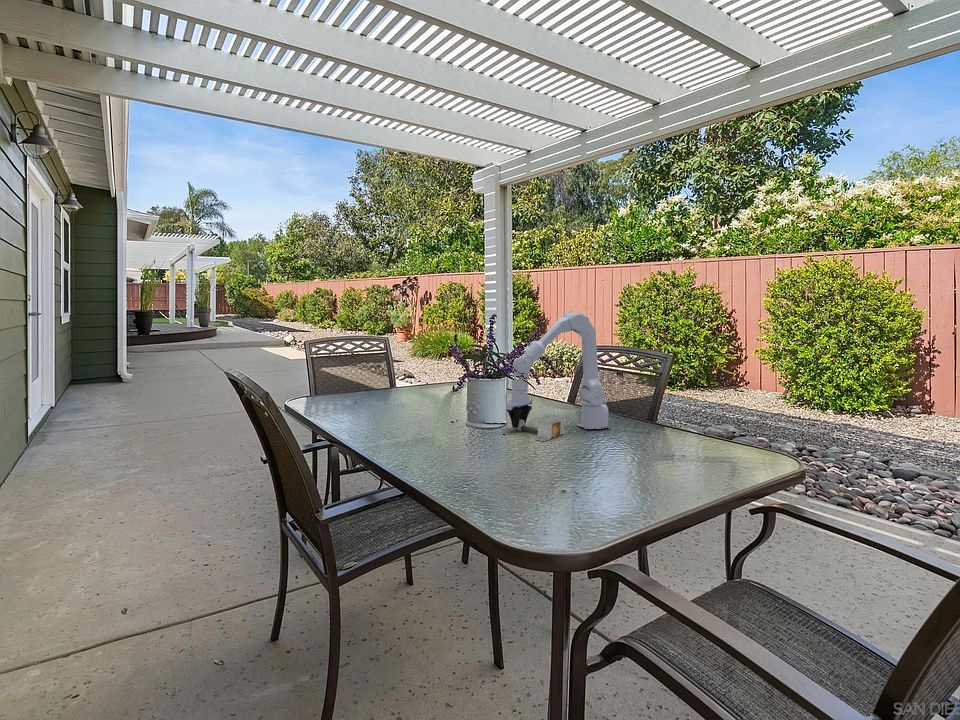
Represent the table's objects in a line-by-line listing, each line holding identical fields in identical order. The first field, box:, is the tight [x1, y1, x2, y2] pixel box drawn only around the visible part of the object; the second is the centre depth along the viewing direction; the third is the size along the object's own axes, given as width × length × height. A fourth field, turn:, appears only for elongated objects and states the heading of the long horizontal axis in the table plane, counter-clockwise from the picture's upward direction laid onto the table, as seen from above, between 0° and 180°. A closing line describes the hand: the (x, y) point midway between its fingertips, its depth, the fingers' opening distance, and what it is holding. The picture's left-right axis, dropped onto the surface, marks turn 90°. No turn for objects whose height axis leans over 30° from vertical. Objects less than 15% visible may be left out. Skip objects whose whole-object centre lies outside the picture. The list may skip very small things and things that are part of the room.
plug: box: [512, 419, 558, 438], centre depth 196 cm, size 16×4×4 cm, turn 53°
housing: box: [533, 414, 568, 442], centre depth 192 cm, size 4×16×6 cm, turn 143°
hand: (518, 426), depth 200 cm, fingers closed on plug, 4 cm apart
